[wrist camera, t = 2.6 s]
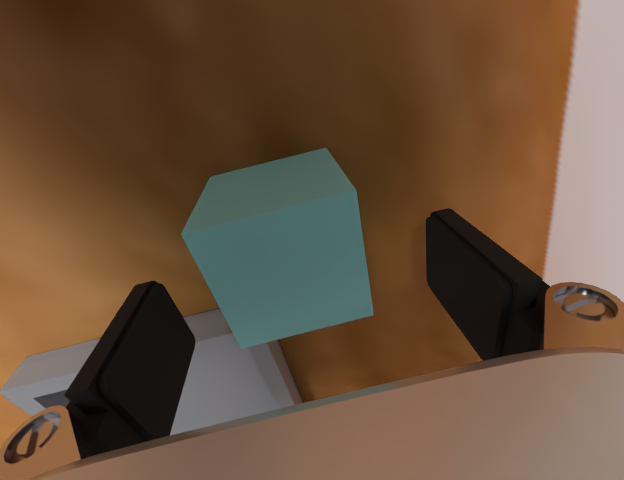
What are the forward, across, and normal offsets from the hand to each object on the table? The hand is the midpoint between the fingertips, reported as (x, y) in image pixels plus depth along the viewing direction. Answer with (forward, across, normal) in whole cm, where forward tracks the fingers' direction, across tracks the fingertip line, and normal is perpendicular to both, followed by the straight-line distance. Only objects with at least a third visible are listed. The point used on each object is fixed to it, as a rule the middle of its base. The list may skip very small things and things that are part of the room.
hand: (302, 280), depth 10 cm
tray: (+4, +9, +10) cm, 15 cm away
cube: (+4, 0, -1) cm, 4 cm away
